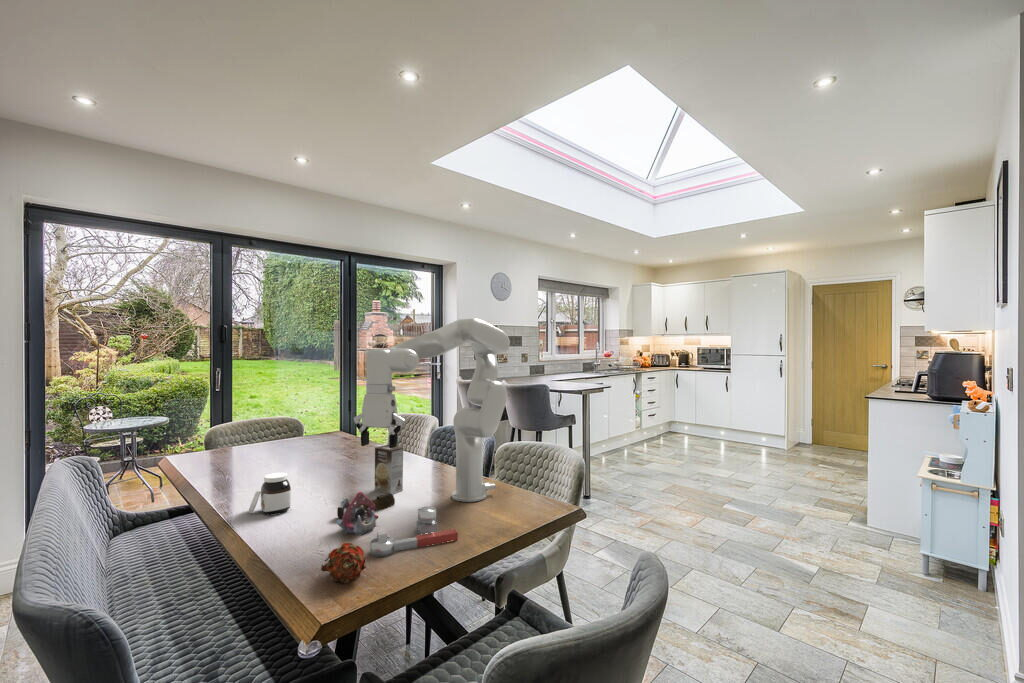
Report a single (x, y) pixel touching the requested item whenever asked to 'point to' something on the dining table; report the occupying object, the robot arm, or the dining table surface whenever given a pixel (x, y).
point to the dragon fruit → (345, 563)
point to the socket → (427, 520)
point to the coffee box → (388, 469)
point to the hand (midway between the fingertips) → (378, 446)
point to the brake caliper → (358, 515)
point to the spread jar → (273, 494)
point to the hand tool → (380, 503)
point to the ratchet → (408, 542)
